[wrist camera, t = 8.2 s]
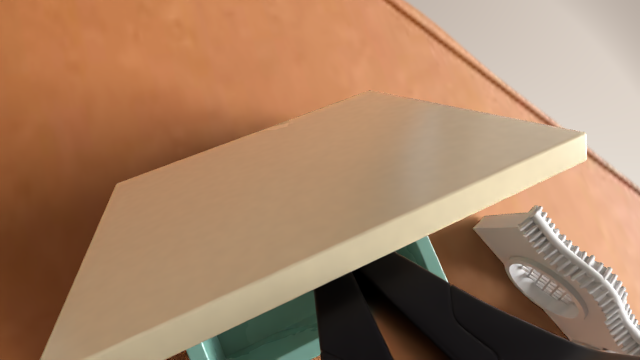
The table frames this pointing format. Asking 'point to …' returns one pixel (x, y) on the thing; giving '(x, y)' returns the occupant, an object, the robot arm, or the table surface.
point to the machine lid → (288, 217)
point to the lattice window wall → (563, 281)
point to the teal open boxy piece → (291, 324)
